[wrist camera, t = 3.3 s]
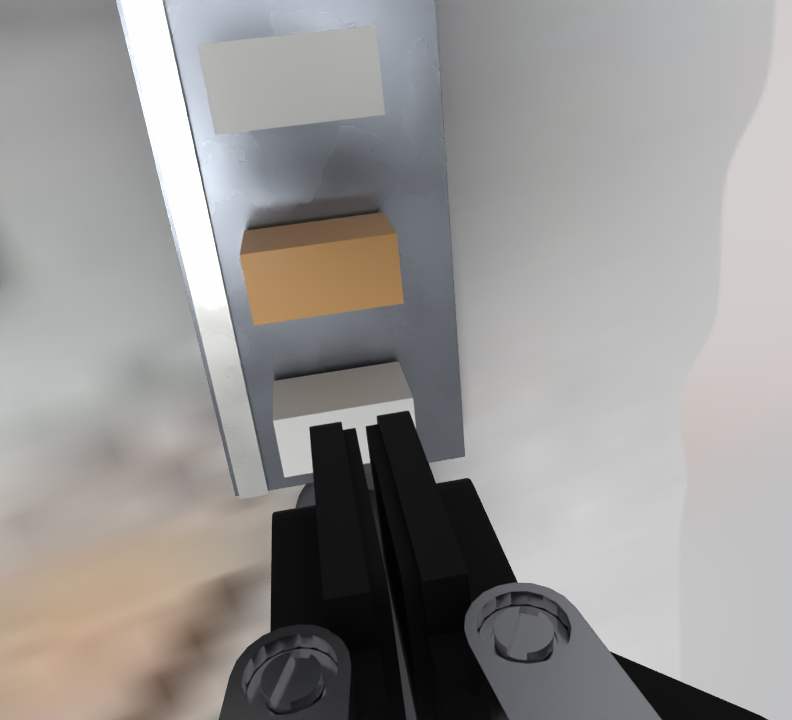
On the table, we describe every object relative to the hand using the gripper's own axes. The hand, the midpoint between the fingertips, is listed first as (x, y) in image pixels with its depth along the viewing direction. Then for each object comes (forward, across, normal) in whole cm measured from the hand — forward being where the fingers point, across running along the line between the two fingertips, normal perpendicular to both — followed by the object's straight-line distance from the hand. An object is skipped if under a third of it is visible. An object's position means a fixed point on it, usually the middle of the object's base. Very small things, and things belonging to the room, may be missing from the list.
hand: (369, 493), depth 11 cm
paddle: (+15, 0, -6) cm, 16 cm away
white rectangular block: (+15, 0, +6) cm, 16 cm away
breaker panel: (+18, 0, 0) cm, 18 cm away
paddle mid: (+15, 0, 0) cm, 15 cm away
